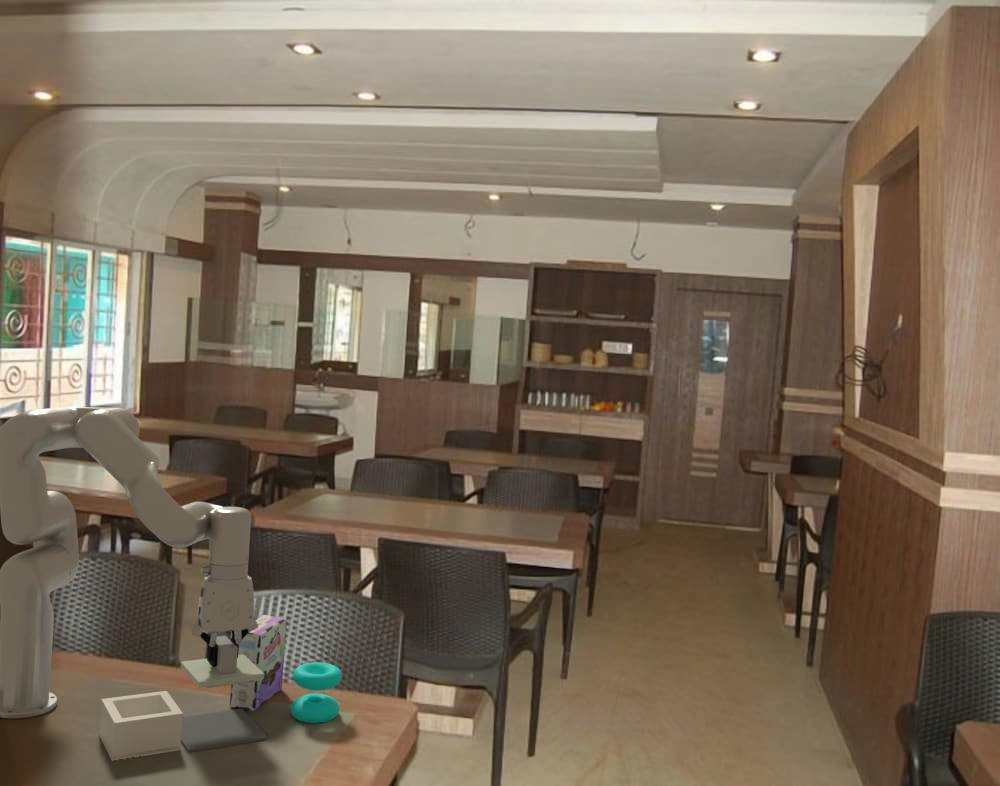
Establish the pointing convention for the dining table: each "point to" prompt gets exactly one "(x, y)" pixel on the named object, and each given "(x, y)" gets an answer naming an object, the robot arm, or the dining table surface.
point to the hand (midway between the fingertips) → (222, 662)
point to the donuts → (316, 705)
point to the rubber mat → (219, 730)
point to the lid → (222, 667)
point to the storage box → (140, 725)
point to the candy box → (262, 663)
